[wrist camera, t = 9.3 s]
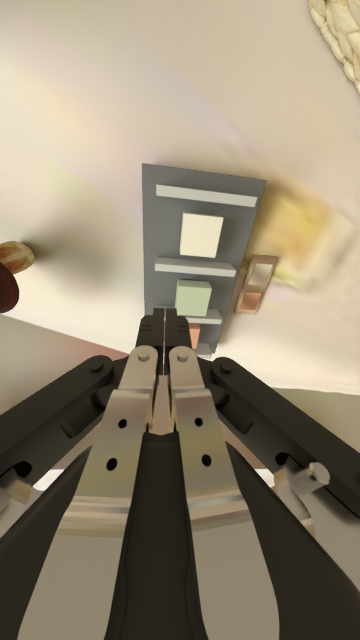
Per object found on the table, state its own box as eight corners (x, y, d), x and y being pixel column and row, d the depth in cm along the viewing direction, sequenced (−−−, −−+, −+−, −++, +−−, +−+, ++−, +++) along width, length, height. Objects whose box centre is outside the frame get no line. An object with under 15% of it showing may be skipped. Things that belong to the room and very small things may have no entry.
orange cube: (172, 313, 36) (173, 327, 32) (197, 315, 37) (200, 329, 33) (171, 332, 39) (171, 347, 35) (193, 333, 39) (196, 348, 36)
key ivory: (182, 210, 26) (184, 213, 22) (215, 214, 26) (223, 217, 22) (178, 246, 29) (180, 254, 25) (209, 249, 29) (215, 257, 25)
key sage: (177, 274, 30) (178, 286, 26) (206, 276, 30) (211, 288, 26) (174, 300, 32) (175, 314, 29) (201, 302, 33) (205, 316, 29)
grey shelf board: (144, 166, 24) (137, 158, 19) (257, 181, 26) (280, 178, 20) (146, 341, 42) (143, 362, 37) (212, 344, 44) (217, 365, 39)
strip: (252, 254, 32) (254, 256, 31) (275, 256, 32) (278, 258, 31) (234, 311, 38) (235, 313, 37) (253, 312, 39) (255, 315, 38)
